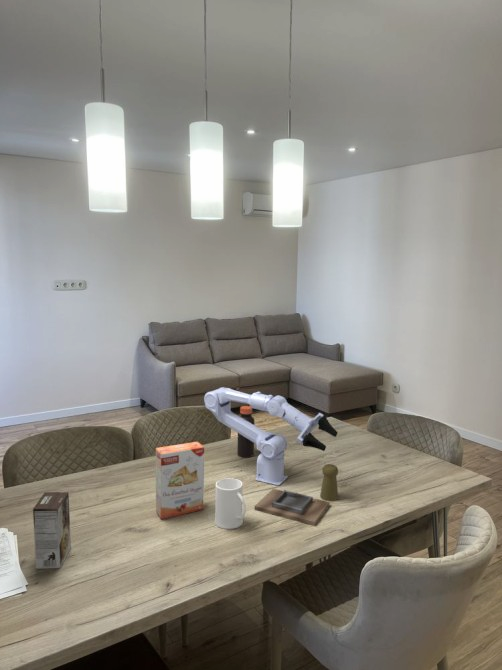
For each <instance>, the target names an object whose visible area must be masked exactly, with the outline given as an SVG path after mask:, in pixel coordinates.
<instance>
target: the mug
mask: <svg viewBox="0 0 502 670" xmlns="http://www.w3.org/2000/svg"><path fill="white" fill-rule="evenodd" d="M243 489H244V488H243V482H242V481H241V480H240V479H237V478H233V477H226V478H221V479H219V480H217V481H216V482H215V500H214V501H215V503H214V504H215V505H214V506H215V508H214V509H215V511H214V512H215V515H214V525H215V526H217V528H220V529H224V530H233V529H237V528H239V527H241V526H242V525H243V524H244V519H243V518H244V517H245V515H246V511H247V508H246V506H247V505H246V502H245V499H244V498H243Z"/></svg>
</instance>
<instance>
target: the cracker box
mask: <svg viewBox="0 0 502 670" xmlns="http://www.w3.org/2000/svg"><path fill="white" fill-rule="evenodd" d="M204 482H205V447H204V446H203V444H201V443H200V442H199V441H193V442H187V443H180V444H174V445H173V444H172V445H167V446H160V447H156V448H155V511H156V514H158V517H159V518H160V519H161V520H163V519H168V518H172V517H177V516H180V515H184V514H190V513H194V512H198V511H203V510H204V494H205V493H204V489H205V488H204V485H205V483H204Z"/></svg>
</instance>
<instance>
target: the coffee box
mask: <svg viewBox="0 0 502 670" xmlns="http://www.w3.org/2000/svg"><path fill="white" fill-rule="evenodd" d="M69 495H70V494H69V491H65V492H64V491H63V492H62V491H46V492H44V493H43V494H42V495H41V497H40V498H39V500H38V501H37V502H36V504H35V505H34V507H33V508H32V512H33V513H32V515H33V518H32V519H33V534H34V535H33V537H34V538H33V539H34V555H35V557H34V559H35V569H38V570H39V569H41V570H42V569H43V570H44V569H60V568H61V569H62V566H63V564H64V562H65V560H66V559H67V556H68V554H69V552H70V550H71V548H72V546H71V542H72V541H71V519H70V518H71V517H70V516H71V515H70V499H69Z"/></svg>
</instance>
